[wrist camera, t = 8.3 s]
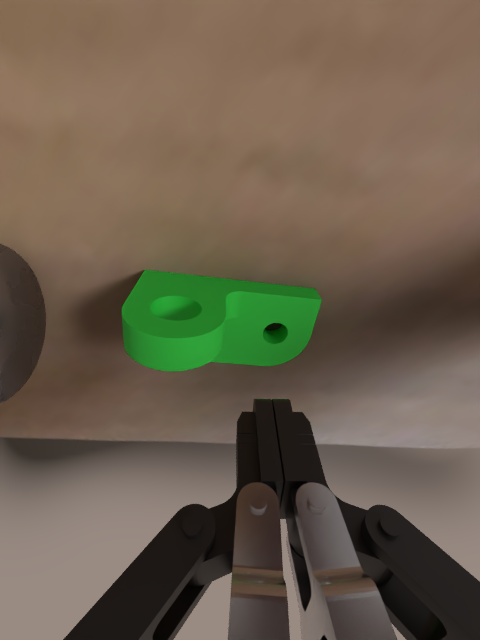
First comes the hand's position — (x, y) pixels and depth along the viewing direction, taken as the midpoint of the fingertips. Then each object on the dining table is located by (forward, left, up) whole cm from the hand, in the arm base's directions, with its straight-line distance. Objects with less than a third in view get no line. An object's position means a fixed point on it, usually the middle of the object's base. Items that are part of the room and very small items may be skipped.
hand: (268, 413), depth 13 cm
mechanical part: (+2, +1, -11) cm, 11 cm away
